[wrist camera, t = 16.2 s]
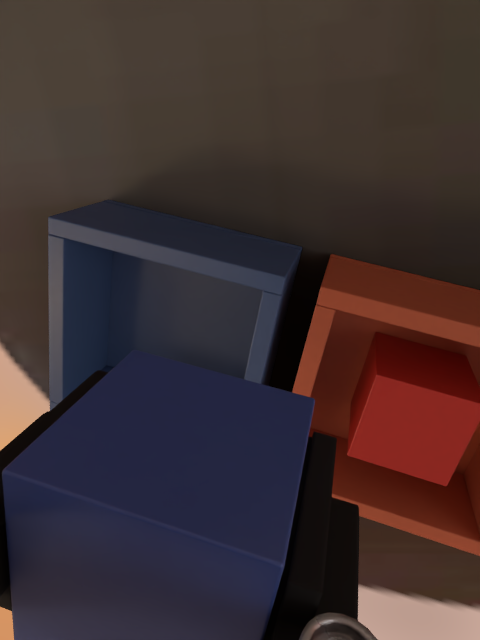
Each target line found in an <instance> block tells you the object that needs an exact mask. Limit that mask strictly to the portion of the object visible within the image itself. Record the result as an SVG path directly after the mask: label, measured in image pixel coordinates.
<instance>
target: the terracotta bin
mask: <svg viewBox="0 0 480 640" xmlns="http://www.w3.org/2000/svg"><path fill="white" fill-rule="evenodd" d="M375 332H379V333H383V334H386V335H390V336H394V337H398V338H401V339H405V340H409V341H413V342H416V343H420V344H424V345H428V346H431V347H435V348H439V349H442V350H446V351H450V352H454V353H457V354H461V355H465V356H467V358H468V361H469V363H470V366H471V368H472V370H473V373H474V375H475V378H476V380H477V382H478V385H479V387H480V290H477V289H473V288H469V287H465V286H461V285H457V284H452V283H448V282H444V281H440V280H436V279H432V278H428V277H424V276H420V275H416V274H412V273H407V272H403V271H399V270H395V269H391V268H387V267H383V266H379V265H375V264H371V263H366V262H362V261H358V260H354V259H350V258H346V257H342V256H338V255H334V254H331V255H330V258H329V261H328V265H327V268H326V271H325V274H324V278H323V281H322V284H321V288H320V291H319V295H318V299H317V302H316V306H315V310H314V313H313V317H312V321H311V324H310V328H309V332H308V335H307V339H306V343H305V347H304V350H303V354H302V358H301V361H300V365H299V369H298V372H297V376H296V380H295V383H294V387H293V391H292V393H296V394H300V395H303V396H307V397H311V398H314V399H315V405H314V410H313V416H312V421H311V426H310V432H309V437H312V435H313V432H314V431H315V432H318V433H322V434H325V435H329V436H332V437H336V438H337V444H336V455H335V466H334V476H333V487H332V497H333V498H336V499H340V500H343V501H346V502H349V503H353V504H356V505H358V507H359V516H362V517H365V518H368V519H371V520H374V521H377V522H380V523H383V524H386V525H389V526H392V527H395V528H398V529H401V530H404V531H407V532H410V533H413V534H416V535H419V536H422V537H425V538H428V539H431V540H434V541H437V542H439V543H442V544H445V545H448V546H451V547H454V548H457V549H460V550H463V551H466V552H469V553H472V554H475V555H478V556H480V422H479V424H478V425H477V427H476V429H475V431H474V433H473V435H472V437H471V439H470V441H469V443H468V445H467V447H466V449H465V451H464V453H463V455H462V457H461V459H460V461H459V463H458V465H457V467H456V469H455V471H454V473H453V475H452V477H451V479H450V481H449V483H448V485H447V486H443V485H440V484H436V483H433V482H430V481H427V480H424V479H421V478H417V477H414V476H411V475H408V474H405V473H401V472H398V471H395V470H392V469H389V468H386V467H382V466H379V465H376V464H373V463H370V462H366V461H363V460H360V459H357V458H354V457H350V456H348V455H347V451H348V436H349V421H350V407H351V400H352V398H353V395H354V392H355V389H356V386H357V383H358V380H359V377H360V374H361V371H362V369H363V366H364V363H365V360H366V357H367V354H368V351H369V348H370V345H371V342H372V339H373V337H374V334H375Z"/></svg>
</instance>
